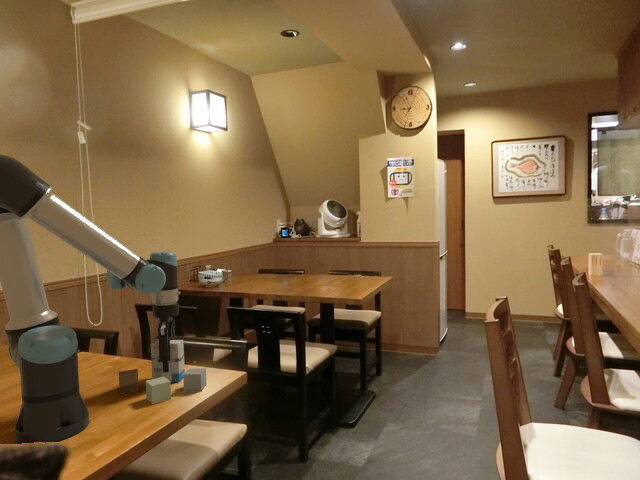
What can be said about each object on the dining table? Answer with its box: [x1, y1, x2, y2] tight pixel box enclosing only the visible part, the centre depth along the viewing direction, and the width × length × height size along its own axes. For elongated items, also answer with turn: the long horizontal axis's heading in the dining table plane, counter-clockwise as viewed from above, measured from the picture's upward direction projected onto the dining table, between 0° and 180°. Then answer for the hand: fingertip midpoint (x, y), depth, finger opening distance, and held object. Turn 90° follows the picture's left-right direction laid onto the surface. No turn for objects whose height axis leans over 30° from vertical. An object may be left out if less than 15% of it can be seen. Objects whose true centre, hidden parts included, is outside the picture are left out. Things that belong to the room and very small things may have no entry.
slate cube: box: [182, 367, 207, 393], centre depth 131 cm, size 5×5×5 cm
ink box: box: [150, 339, 186, 383], centre depth 138 cm, size 8×5×12 cm, turn 85°
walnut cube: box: [118, 368, 140, 395], centre depth 131 cm, size 5×5×5 cm
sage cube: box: [145, 377, 172, 405], centre depth 124 cm, size 5×5×5 cm
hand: (168, 378), depth 139 cm, fingers closed on ink box, 6 cm apart
